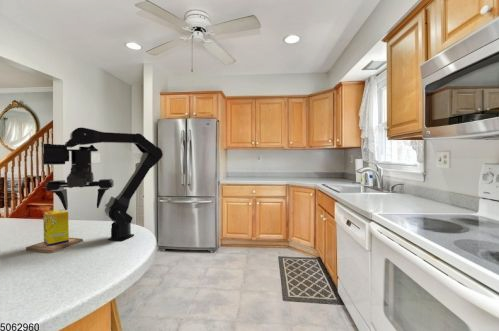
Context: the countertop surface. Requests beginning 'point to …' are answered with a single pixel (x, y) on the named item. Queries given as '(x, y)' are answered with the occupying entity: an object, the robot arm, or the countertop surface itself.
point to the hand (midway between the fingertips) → (82, 208)
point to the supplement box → (56, 227)
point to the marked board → (50, 249)
